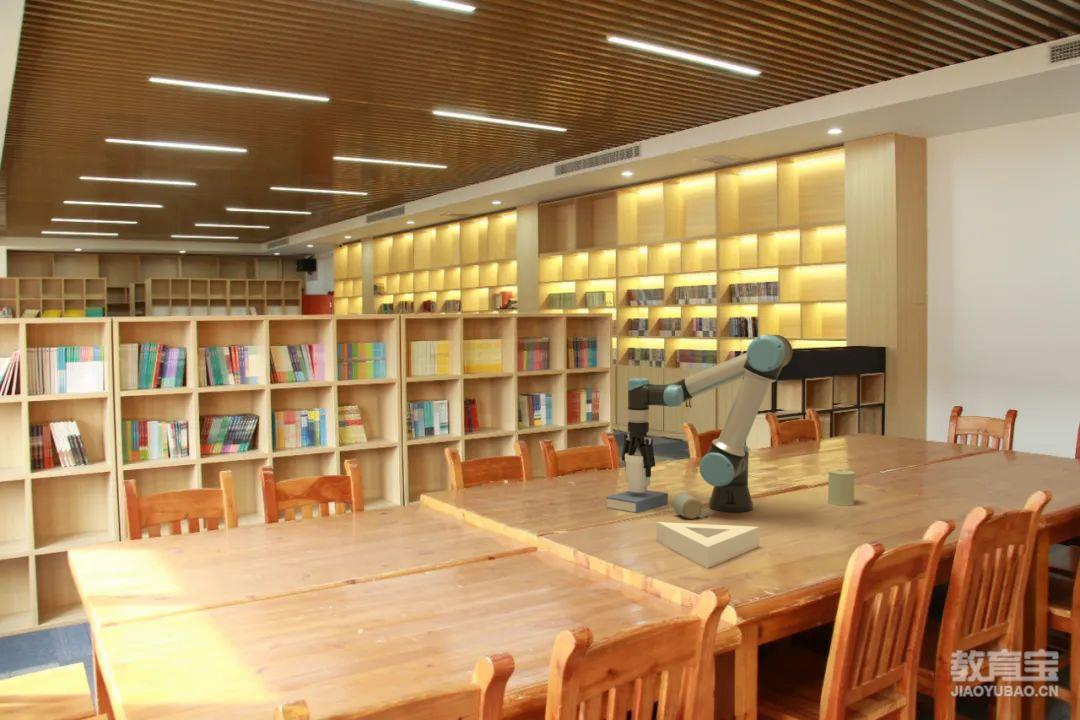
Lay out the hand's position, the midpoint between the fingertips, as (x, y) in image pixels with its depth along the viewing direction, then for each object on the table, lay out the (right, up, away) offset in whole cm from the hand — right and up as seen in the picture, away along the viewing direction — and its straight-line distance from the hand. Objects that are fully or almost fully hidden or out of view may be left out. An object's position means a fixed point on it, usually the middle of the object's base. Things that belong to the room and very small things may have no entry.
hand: (637, 483), depth 301 cm
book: (0, -9, 0) cm, 9 cm away
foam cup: (0, -3, 0) cm, 3 cm away
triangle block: (+17, -11, -58) cm, 62 cm away
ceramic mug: (+16, -9, -16) cm, 25 cm away
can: (+75, -8, +7) cm, 76 cm away
